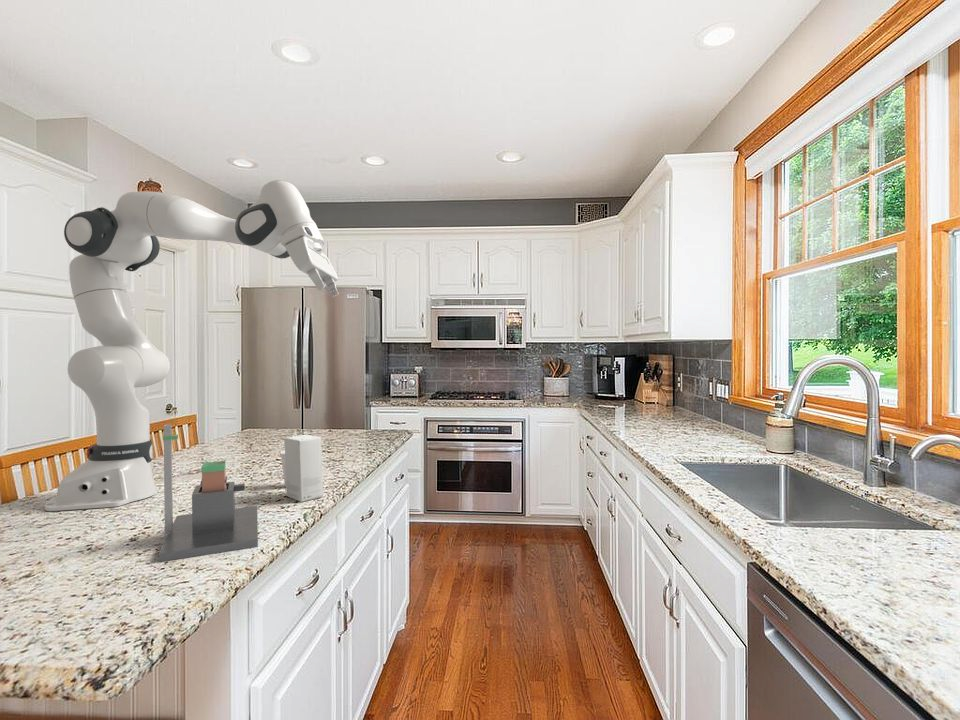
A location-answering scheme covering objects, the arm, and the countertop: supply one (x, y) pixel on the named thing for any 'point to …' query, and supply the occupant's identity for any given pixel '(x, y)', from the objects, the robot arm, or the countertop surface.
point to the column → (214, 476)
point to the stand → (205, 518)
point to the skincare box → (303, 467)
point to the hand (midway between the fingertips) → (329, 292)
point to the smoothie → (283, 464)
